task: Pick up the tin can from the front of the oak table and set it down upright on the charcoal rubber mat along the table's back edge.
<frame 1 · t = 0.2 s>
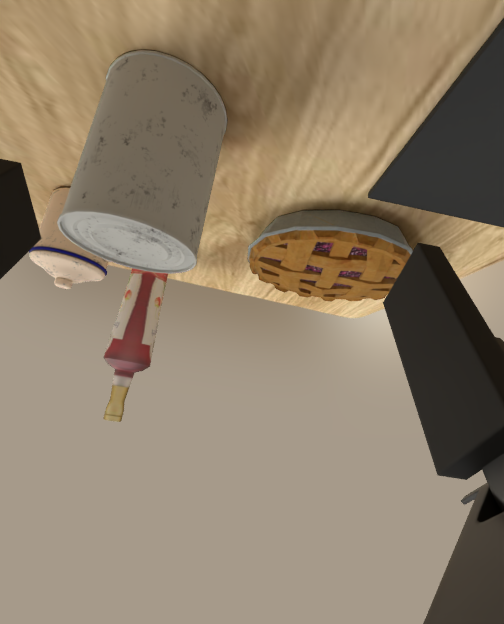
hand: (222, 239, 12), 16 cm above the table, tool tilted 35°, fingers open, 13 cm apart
teacup with lid: (98, 205, 46), on the table
tin can: (169, 106, 28), on the table
liquor: (154, 255, 61), on the table
pie: (331, 245, 46), on the table
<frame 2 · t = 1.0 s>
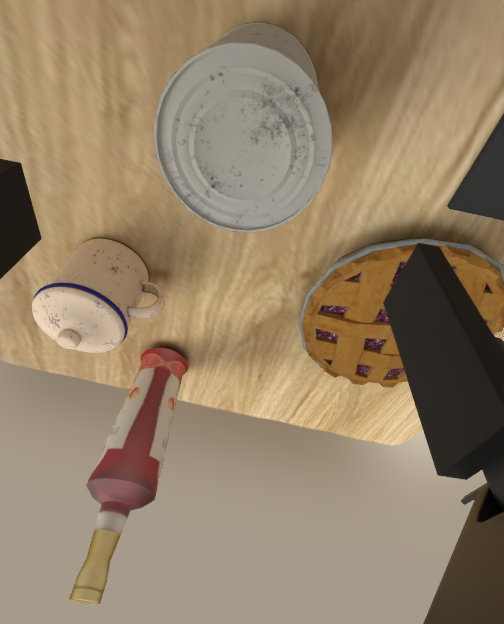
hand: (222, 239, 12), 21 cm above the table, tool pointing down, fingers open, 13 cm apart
teacup with lid: (125, 269, 41), on the table
tin can: (257, 99, 28), on the table
liquor: (166, 355, 51), on the table
pie: (390, 304, 41), on the table
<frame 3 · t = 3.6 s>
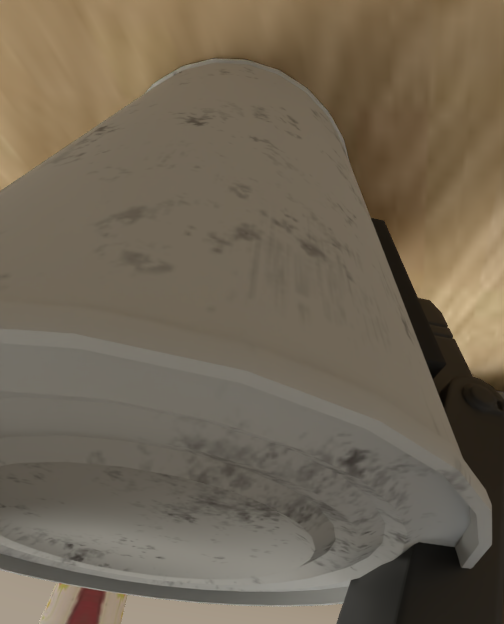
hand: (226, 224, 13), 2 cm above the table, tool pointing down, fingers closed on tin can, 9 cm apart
tin can: (233, 197, 14), on the table, touching gripper
liquor: (125, 487, 38), on the table
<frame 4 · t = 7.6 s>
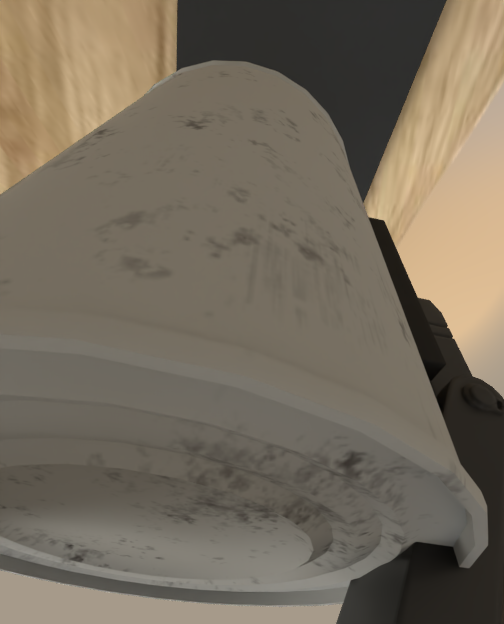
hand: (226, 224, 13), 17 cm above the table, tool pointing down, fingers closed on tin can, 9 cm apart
back mat: (286, 106, 25), on the table
tin can: (232, 198, 15), point 15 cm above the table, touching gripper
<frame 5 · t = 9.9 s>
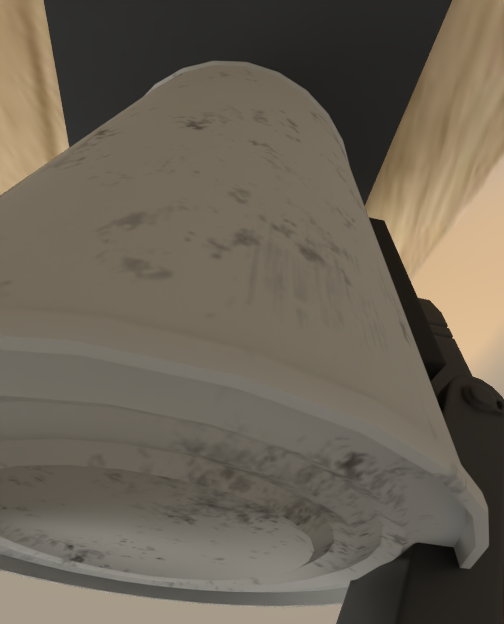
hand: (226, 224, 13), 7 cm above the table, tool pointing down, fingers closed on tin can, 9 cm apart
back mat: (225, 151, 18), on the table
tin can: (233, 198, 15), point 5 cm above the table, touching gripper
when the fingers open (3 cm above the table, at t = 11.6 s): tin can stays where it is, resting on back mat.
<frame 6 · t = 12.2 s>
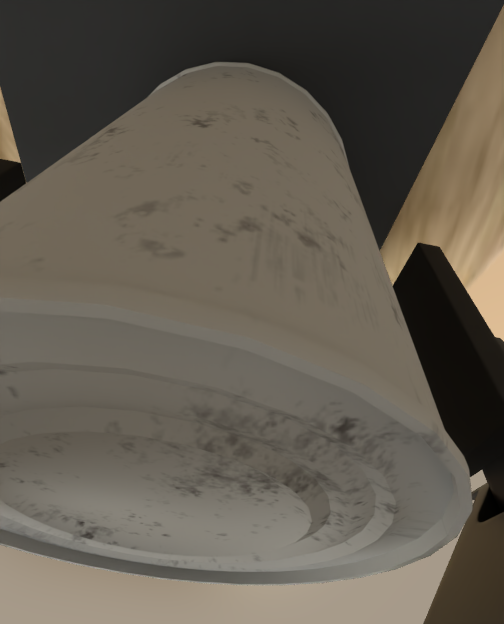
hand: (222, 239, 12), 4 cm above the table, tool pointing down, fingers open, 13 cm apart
back mat: (213, 186, 15), on the table
tin can: (234, 196, 15), resting on back mat
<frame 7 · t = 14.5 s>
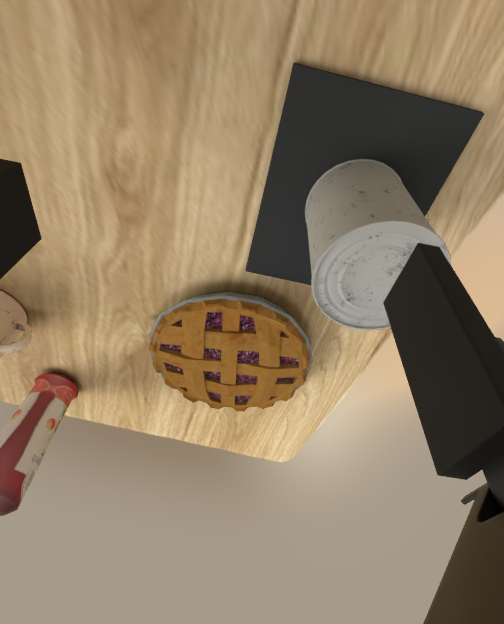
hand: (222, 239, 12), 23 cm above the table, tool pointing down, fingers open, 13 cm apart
teacup with lid: (7, 308, 48), on the table
back mat: (343, 203, 34), on the table
tin can: (353, 208, 34), resting on back mat
liquor: (61, 380, 58), on the table
pie: (233, 341, 49), on the table
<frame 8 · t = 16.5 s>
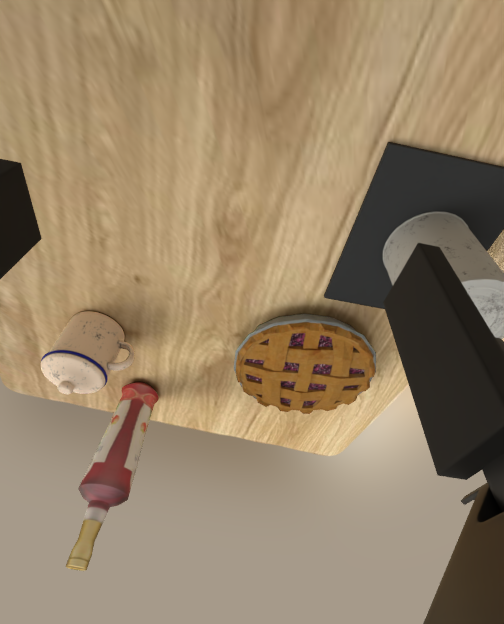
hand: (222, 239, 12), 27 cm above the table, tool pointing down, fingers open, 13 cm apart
teacup with lid: (107, 329, 56), on the table
back mat: (415, 244, 41), on the table
tin can: (424, 248, 41), resting on back mat
liquor: (142, 388, 66), on the table
pie: (302, 354, 56), on the table
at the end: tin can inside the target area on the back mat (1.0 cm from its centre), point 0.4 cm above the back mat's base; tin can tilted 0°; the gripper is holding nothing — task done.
